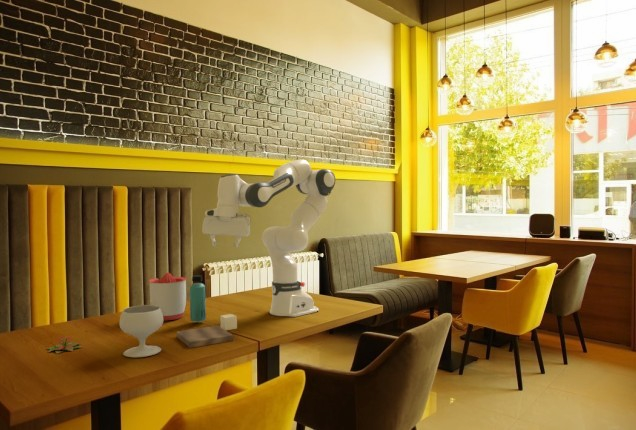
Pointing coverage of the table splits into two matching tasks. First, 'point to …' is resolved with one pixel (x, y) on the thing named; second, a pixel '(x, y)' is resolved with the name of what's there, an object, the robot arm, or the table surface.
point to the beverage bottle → (197, 300)
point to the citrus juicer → (169, 295)
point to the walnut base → (204, 336)
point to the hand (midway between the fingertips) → (225, 246)
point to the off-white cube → (228, 322)
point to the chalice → (141, 327)
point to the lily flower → (64, 346)
